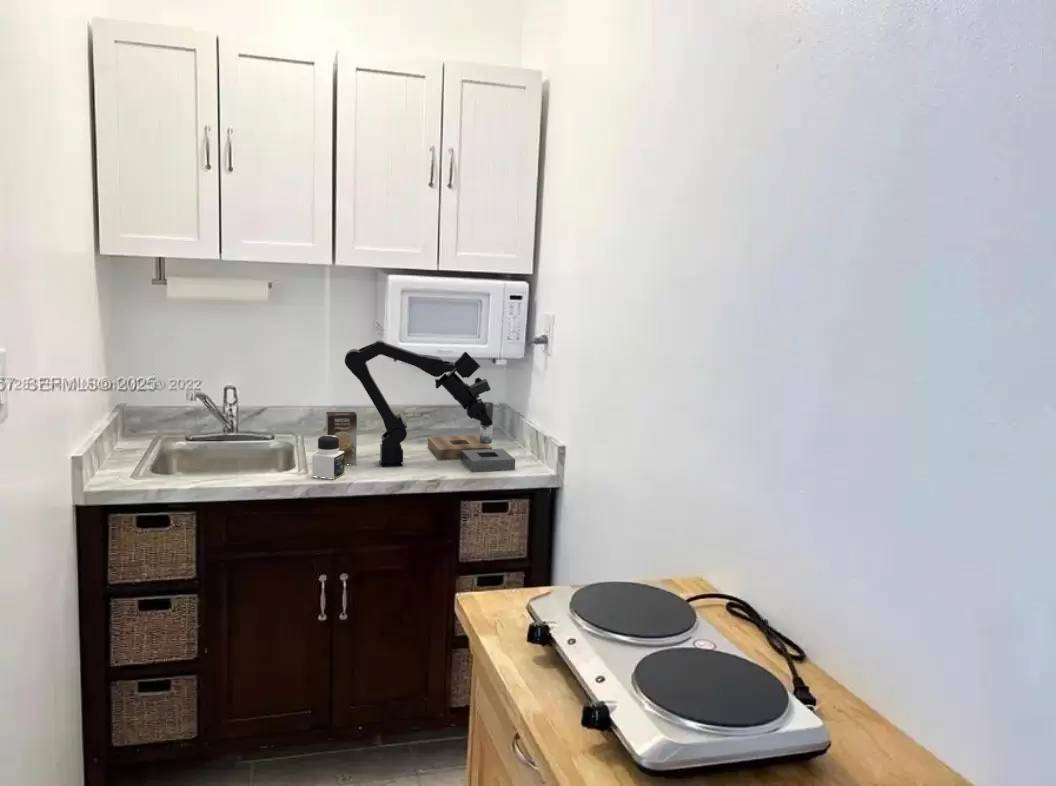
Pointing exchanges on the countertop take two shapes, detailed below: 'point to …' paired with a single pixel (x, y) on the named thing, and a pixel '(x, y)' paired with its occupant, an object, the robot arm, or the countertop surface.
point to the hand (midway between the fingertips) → (490, 422)
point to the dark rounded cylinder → (487, 425)
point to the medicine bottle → (328, 458)
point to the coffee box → (344, 432)
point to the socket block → (487, 460)
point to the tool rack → (454, 446)
